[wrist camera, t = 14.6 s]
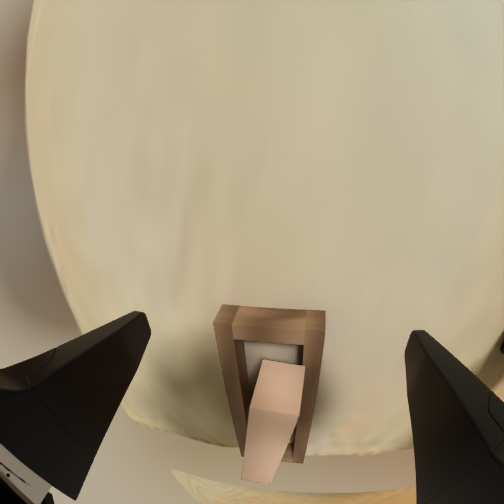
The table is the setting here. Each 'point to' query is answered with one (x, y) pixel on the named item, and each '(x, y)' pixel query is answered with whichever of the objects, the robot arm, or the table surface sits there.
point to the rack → (274, 331)
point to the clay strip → (271, 419)
